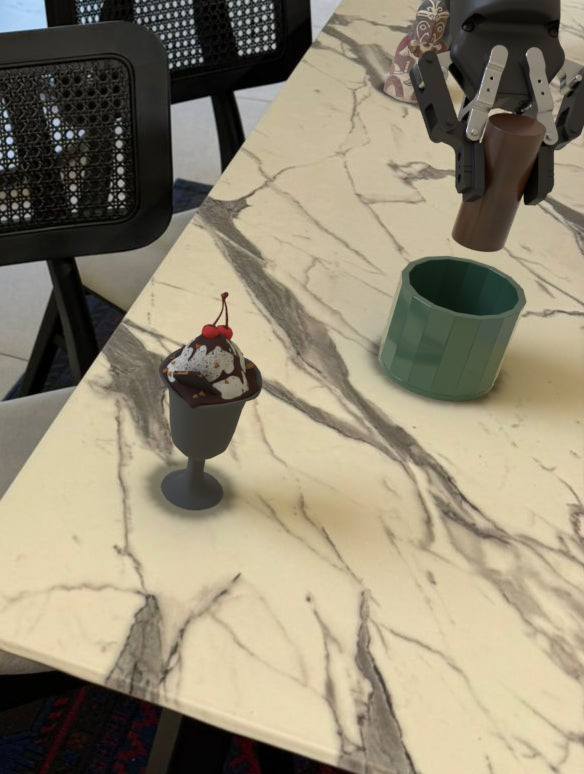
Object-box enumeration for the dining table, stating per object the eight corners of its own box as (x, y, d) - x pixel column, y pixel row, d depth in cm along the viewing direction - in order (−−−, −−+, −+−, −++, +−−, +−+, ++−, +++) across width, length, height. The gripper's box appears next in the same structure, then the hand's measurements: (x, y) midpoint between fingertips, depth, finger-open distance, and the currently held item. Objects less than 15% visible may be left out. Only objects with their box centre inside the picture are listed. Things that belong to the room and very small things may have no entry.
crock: (507, 364, 87) (539, 281, 82) (473, 419, 81) (506, 333, 76) (400, 325, 91) (425, 243, 85) (360, 375, 84) (384, 290, 79)
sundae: (212, 453, 75) (244, 273, 65) (254, 513, 71) (295, 329, 61) (129, 470, 73) (149, 287, 63) (167, 533, 69) (194, 346, 59)
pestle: (510, 237, 78) (552, 123, 73) (495, 257, 76) (538, 140, 70) (460, 221, 80) (497, 108, 74) (444, 240, 77) (481, 124, 71)
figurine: (379, 99, 132) (403, 1, 124) (386, 81, 137) (409, -14, 130) (435, 109, 131) (463, 11, 123) (439, 91, 136) (467, -5, 128)
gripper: (429, -67, 70) (429, 177, 69) (627, -52, 72) (629, 187, 70) (391, -8, 78) (389, 212, 77) (570, 4, 79) (571, 221, 78)
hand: (504, 199), depth 74 cm, fingers closed on pestle, 4 cm apart
